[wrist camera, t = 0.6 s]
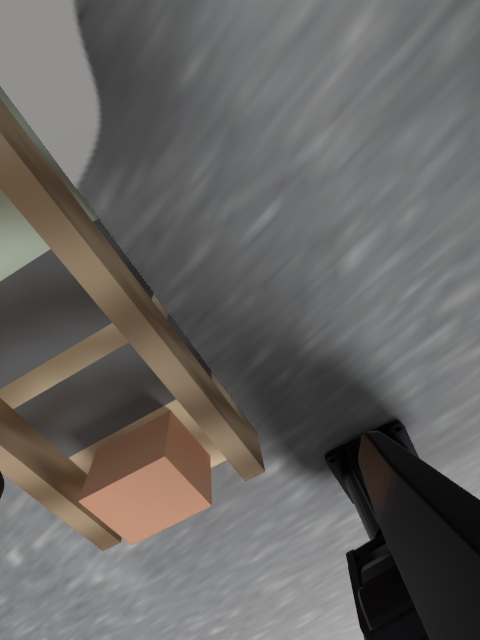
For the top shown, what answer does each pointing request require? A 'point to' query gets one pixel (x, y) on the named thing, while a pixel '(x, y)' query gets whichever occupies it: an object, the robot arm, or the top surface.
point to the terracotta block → (148, 479)
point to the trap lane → (86, 343)
